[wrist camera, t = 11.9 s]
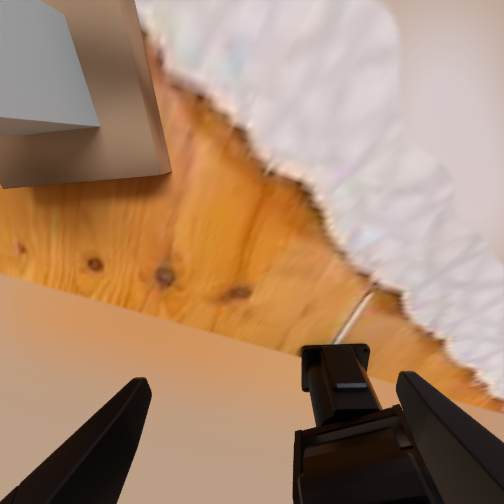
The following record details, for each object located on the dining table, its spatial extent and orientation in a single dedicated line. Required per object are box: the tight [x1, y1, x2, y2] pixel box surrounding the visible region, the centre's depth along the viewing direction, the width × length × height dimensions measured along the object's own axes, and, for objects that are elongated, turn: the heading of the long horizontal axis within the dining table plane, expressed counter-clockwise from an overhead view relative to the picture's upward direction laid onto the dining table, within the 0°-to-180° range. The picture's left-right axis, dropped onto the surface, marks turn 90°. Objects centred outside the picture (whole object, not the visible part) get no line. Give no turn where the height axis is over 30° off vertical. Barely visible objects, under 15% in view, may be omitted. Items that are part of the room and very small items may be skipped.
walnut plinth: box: [0, 0, 172, 189], centre depth 14 cm, size 11×11×2 cm
